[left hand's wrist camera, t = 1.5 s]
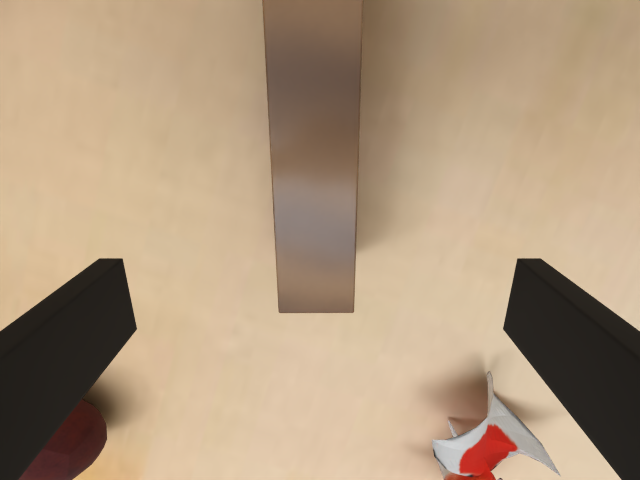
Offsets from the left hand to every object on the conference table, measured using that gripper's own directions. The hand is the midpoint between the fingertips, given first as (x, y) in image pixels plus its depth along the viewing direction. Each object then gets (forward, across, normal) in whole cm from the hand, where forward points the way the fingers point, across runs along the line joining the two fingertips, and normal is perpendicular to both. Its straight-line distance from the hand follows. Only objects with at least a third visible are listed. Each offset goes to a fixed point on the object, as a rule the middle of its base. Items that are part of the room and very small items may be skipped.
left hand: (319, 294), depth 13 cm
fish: (+16, -14, +23) cm, 31 cm away
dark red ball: (+16, +23, +21) cm, 35 cm away
